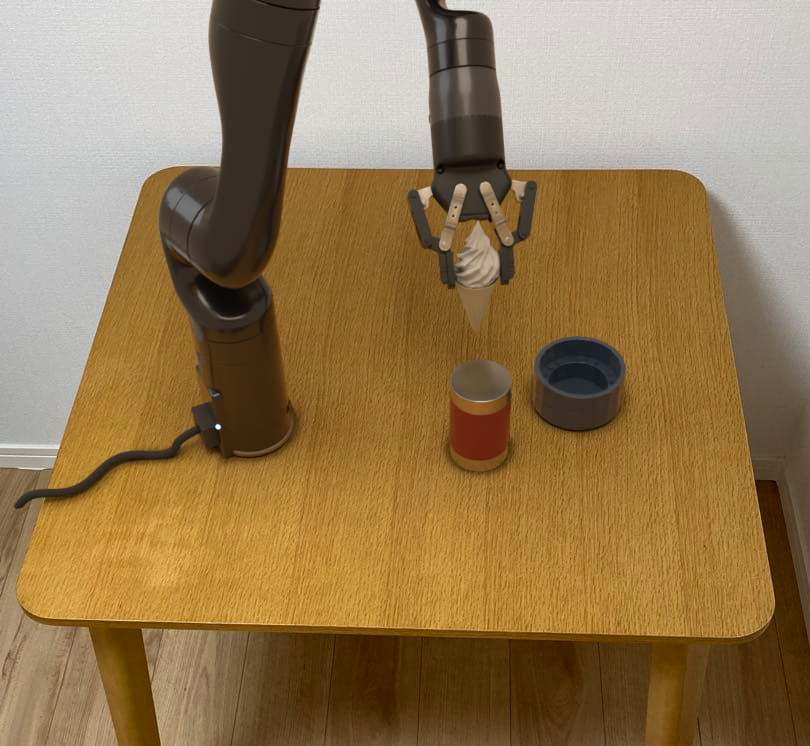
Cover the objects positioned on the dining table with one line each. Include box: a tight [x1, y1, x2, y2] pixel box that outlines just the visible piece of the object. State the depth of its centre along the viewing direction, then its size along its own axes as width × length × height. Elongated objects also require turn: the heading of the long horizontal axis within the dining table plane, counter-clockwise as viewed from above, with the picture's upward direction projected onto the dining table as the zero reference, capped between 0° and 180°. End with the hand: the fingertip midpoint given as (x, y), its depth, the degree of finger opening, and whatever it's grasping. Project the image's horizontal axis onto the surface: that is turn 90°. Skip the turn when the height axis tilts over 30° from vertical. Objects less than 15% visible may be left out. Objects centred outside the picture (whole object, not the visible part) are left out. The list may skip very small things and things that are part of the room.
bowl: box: [531, 335, 627, 431], centre depth 138 cm, size 10×10×6 cm
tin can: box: [449, 359, 513, 473], centre depth 131 cm, size 7×7×11 cm
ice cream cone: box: [454, 220, 500, 334], centre depth 127 cm, size 5×5×15 cm
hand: (478, 285), depth 125 cm, fingers closed on ice cream cone, 5 cm apart
